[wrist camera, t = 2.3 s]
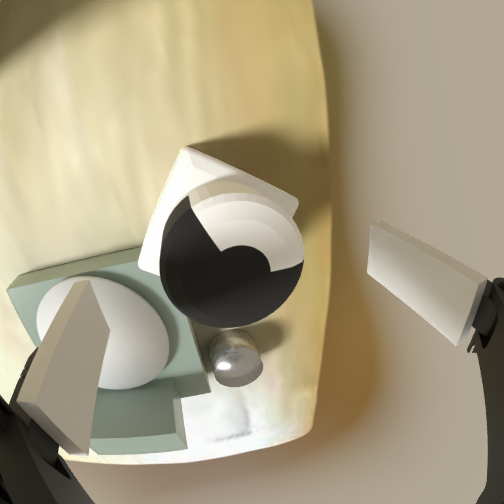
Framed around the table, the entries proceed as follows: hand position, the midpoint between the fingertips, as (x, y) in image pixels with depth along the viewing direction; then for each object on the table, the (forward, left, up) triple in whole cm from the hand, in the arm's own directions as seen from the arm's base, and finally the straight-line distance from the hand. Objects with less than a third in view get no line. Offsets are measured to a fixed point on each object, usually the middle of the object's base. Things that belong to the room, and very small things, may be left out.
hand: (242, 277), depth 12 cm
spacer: (+16, 0, -13) cm, 20 cm away
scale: (+11, -12, -13) cm, 21 cm away
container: (0, 0, -13) cm, 13 cm away
